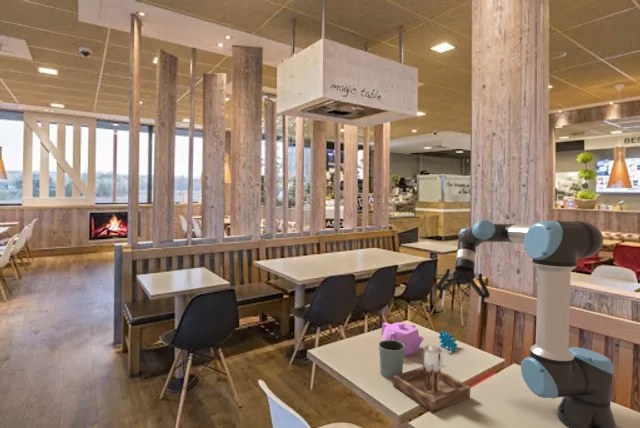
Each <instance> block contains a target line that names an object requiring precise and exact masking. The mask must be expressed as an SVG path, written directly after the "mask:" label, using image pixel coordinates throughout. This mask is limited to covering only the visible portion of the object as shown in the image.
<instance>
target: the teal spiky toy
mask: <svg viewBox="0 0 640 428" xmlns="http://www.w3.org/2000/svg"><path fill="white" fill-rule="evenodd" d="M453 337H454V336H453V334H452V333H451V334H450V331H446V330H442V331H440V332H439V335H438V339H440V340H439V343H440V345H439V347H440V348H441V347H443V348H444V349H446V350H447V351H448V352H450V351H451V352H452V353H454V352H455V351H456V350H458V344H457V343H456V341H458V338H456V337H455V338H453Z"/></svg>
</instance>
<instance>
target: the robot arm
mask: <svg viewBox="0 0 640 428" xmlns="http://www.w3.org/2000/svg"><path fill="white" fill-rule="evenodd" d="M458 233H459V234H458V237H457V239H458V241H457V249H456V250H457V251H456V256H455V257H456V258H455V260H456V261H455V264H454V270H451V269H450V268H447V269H446V272H445V274H444V275H443V277H442V278H440V281H438V283H437V284H436V287H435V289H436V290H437V291H439V299H440V300H441V306H440V308H442V309H444V306H445V305H444V304H445V296H446V291H447V290H448V289H449V288H450V287H452V286H453V285H454V284H456V283H457V282H458V283H460V284H466V285H467V284H469V285H470V286H471V288H473V290H474V291H475V293H477V295H478V303H477V305H478V306H477V315H481V308H482V307H484V305H485V299H490V295H491V294H490V292H489V290H488V287H487V286H486V284H485V282H484V280H483V274H482V273H477V274H476V273H475V266H476V264H475V263H476V256H477V247H479V246H480V245H481V244H483V243H513V244H522V245H523V246H524V250H525V251H526V252H525V253H526V254H527V256H529V257H530V258H532V264H533V265H534V266H535V267H536V268H537V282H536V283H537V290H536V325H535V330H536V331H535V344H533V345H532V346H531V347H530V348H529V356H528V357H527V356H526V357H525V358H524V359H523V360H522V361H521V364H520V371H521V376H522V379H523V380H524V382H525V384H526V386H527V387H528V389H529V390H530V391H531V392H532V393H533V394H535V396H537V397H539V398H543V399H557V398H562V399H561V401H560V403H559V404H558V406H557V418H558V420H559V421H560V422H561V423H562V424H563V425H564V426H565V427H567V428H617V425H616V421H615V418H614V414H613V412H612V408H611V403H612V401H611V400H612V391H613V380H614V364H613V362H612V360H611V359H610V358H608V357H607V356H605V355H603V354H601V353H599V352H596V351H593V350H591V349H588V348H582V347H577V346H571V347H569V344H570V342H569V341H570V339H569V337H570V308H571V307H570V306H571V280H572V279H571V274H572V271H574V270H575V269H576V268H577V267H578V259H587V258H591V257H593V256H595V255H596V254H597V253H598V252H600V251H601V249H602V247H603V244H604V236H603V233H602V231H601V230H600V229H599V228H598V227H597V226H596V225H594V224H592V223H590V222H587V221H582V220H580V221H579V220H574V221H573V220H544V221H542V220H541V221H538V222H535V223H533V224H519V223H493V222H491V221H489V220H487V219H481V220H479V221H478V222H476V223H474V225H473V226H471V227H465V228H464V227H463V228H461V229H460V231H459V232H458ZM452 275H453V277H452V278H451V279H450V280H449V281H448V282H446V281H447V280H448V279H449V277H450V276H452ZM474 279H476V280H477V281H478V283H479V285H480V287H481V288H480V287H479V286H478V284H476V281H474Z"/></svg>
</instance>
